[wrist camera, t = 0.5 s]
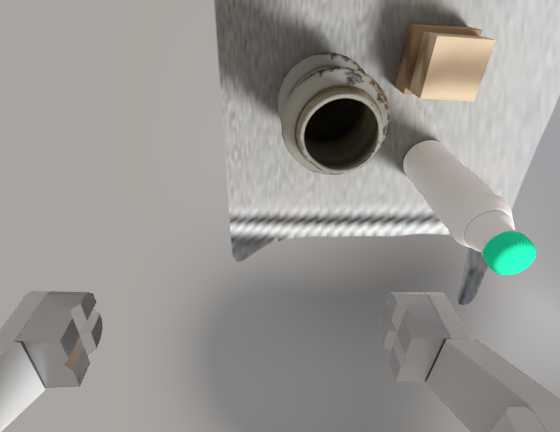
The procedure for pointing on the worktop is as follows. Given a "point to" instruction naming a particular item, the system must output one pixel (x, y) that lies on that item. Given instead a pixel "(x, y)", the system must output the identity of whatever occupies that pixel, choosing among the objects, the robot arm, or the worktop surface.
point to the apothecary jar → (332, 114)
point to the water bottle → (468, 207)
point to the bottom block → (413, 47)
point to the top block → (450, 66)
